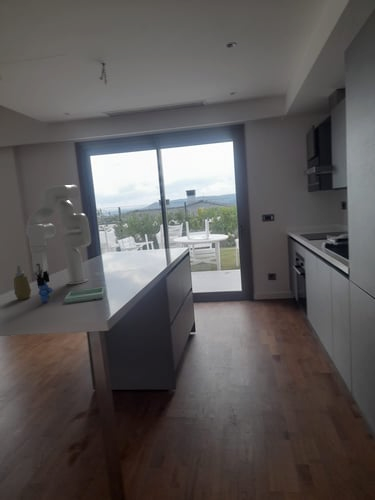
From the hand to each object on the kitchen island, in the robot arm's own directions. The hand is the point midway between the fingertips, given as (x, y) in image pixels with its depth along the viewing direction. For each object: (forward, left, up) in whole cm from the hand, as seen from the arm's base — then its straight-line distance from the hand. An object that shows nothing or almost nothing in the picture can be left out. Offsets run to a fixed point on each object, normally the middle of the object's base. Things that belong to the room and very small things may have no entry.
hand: (43, 283), depth 165 cm
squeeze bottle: (-16, -16, -10) cm, 25 cm away
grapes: (-1, 0, -10) cm, 10 cm away
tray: (0, +19, -10) cm, 22 cm away
